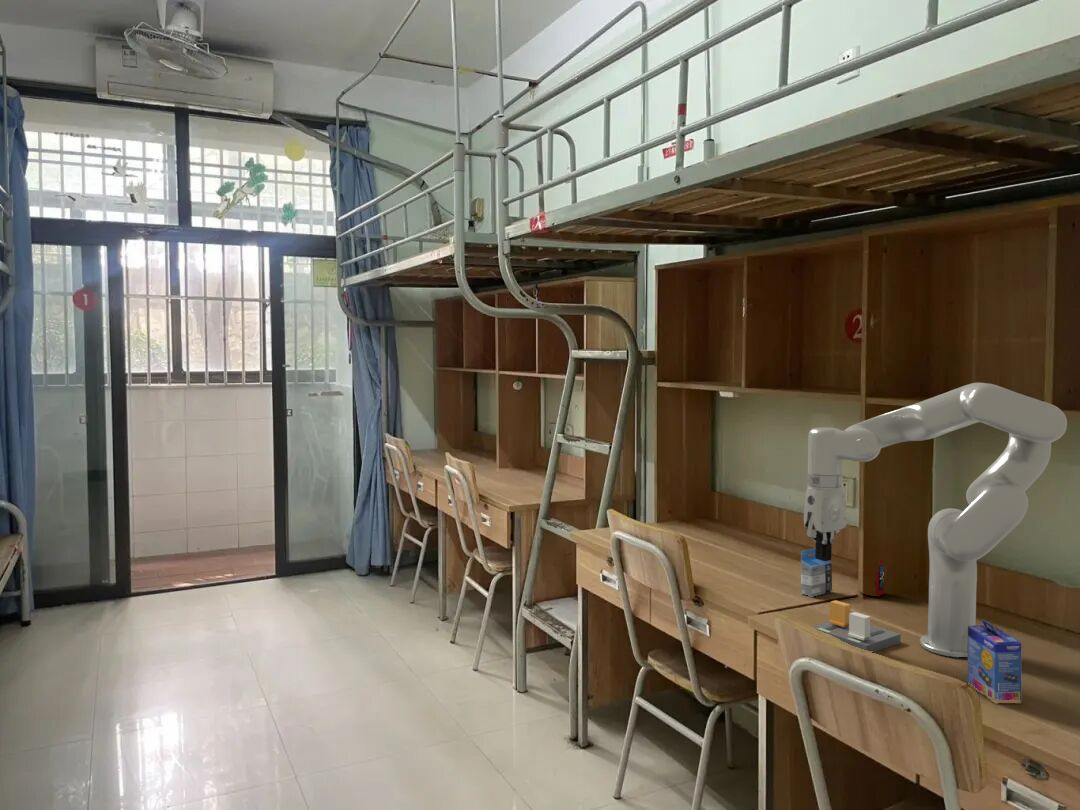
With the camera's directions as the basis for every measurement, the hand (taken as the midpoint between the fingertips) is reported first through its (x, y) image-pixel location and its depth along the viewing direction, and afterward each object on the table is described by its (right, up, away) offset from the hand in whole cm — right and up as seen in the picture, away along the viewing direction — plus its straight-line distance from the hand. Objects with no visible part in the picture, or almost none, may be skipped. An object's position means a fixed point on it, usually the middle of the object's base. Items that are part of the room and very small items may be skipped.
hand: (823, 559), depth 187 cm
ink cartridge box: (+23, -21, -29) cm, 43 cm away
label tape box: (+11, -17, +37) cm, 42 cm away
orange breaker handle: (+6, -16, +5) cm, 18 cm away
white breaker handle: (+7, -17, -4) cm, 19 cm away
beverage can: (+26, -17, +36) cm, 48 cm away
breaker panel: (+8, -19, +1) cm, 21 cm away
